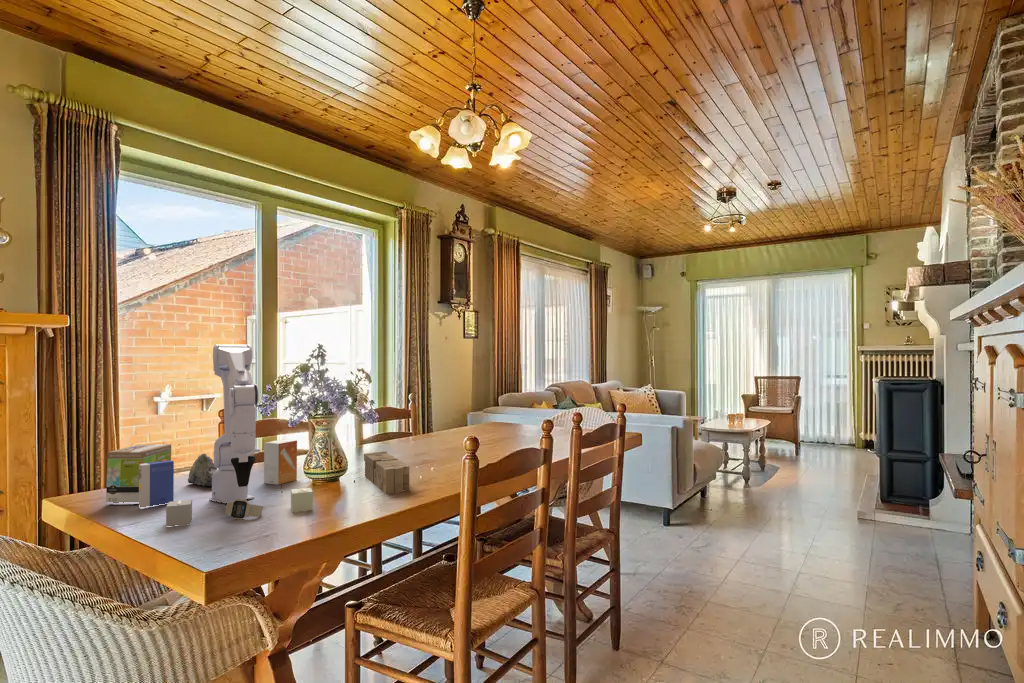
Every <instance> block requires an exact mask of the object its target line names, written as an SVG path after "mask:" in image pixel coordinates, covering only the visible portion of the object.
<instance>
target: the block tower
mask: <svg viewBox="0 0 1024 683" xmlns="http://www.w3.org/2000/svg"><path fill="white" fill-rule="evenodd" d="M363 461H364V477H365V478H366V479H367V480H368V481H370V482H371V483H372V484H375V486H376V487H377V488H378V489H379V490H380V491H382V492H383V493H384V495H390V494H389V493H393V494H398V493H397V492H402V493H403V492H404V491H403V490H409V491H410V465H408V464H407V463H406V462H403V461H402V460H399V459H398V458H397V457H395V456H394V455H393V454H389V453H388V452H387V451H386V450H385V451H377V452H376V451H375V452H367V453H366V452H365V453H363Z"/></svg>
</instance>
